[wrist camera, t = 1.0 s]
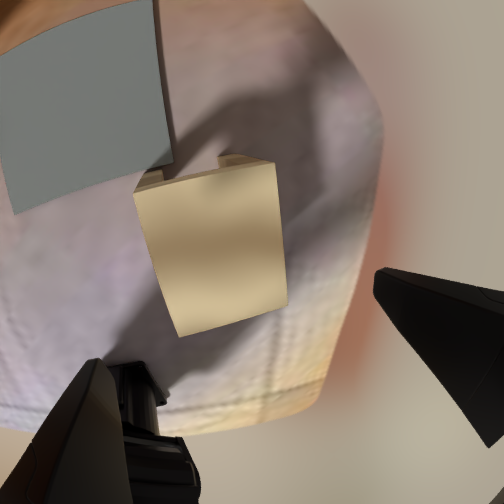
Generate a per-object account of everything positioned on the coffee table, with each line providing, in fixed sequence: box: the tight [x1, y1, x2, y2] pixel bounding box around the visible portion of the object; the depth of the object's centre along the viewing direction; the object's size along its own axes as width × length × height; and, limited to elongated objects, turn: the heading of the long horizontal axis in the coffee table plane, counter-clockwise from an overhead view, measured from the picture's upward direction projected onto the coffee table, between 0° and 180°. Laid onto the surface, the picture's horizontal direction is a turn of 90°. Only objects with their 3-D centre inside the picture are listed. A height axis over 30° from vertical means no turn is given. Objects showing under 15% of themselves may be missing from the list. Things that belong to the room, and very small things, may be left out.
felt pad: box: [0, 0, 174, 215], centre depth 12 cm, size 12×12×1 cm
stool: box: [133, 154, 288, 337], centre depth 15 cm, size 8×6×7 cm
